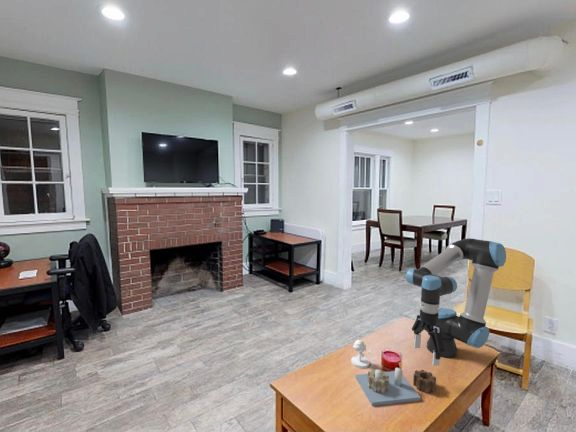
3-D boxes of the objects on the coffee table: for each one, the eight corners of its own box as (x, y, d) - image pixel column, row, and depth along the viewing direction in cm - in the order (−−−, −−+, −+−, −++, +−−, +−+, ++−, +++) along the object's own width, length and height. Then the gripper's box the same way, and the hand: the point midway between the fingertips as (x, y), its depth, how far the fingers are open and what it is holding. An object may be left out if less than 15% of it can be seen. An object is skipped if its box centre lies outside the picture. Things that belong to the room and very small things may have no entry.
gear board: (398, 373, 143) (399, 357, 142) (420, 400, 126) (421, 381, 125) (355, 377, 140) (356, 360, 139) (372, 405, 122) (373, 386, 121)
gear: (377, 377, 138) (377, 367, 137) (392, 388, 130) (393, 378, 130) (363, 383, 133) (363, 373, 133) (378, 396, 126) (379, 385, 125)
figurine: (370, 369, 146) (371, 346, 145) (351, 366, 148) (352, 344, 147) (368, 358, 155) (369, 337, 154) (351, 356, 157) (352, 335, 156)
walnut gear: (426, 378, 140) (427, 369, 139) (439, 392, 131) (440, 381, 130) (409, 380, 138) (410, 370, 138) (421, 394, 129) (421, 383, 129)
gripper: (406, 300, 142) (403, 341, 144) (440, 324, 118) (436, 374, 120) (420, 299, 143) (417, 340, 146) (457, 323, 119) (452, 372, 121)
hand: (425, 356), depth 133 cm, fingers open, 13 cm apart
